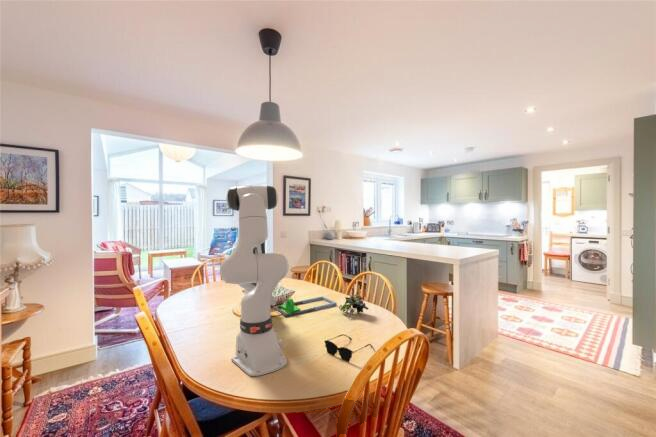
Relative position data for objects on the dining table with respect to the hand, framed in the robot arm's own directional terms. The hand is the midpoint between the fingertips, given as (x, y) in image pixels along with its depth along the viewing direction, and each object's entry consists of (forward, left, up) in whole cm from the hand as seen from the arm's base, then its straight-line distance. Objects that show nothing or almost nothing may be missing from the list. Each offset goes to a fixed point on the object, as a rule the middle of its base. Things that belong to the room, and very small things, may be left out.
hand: (274, 303), depth 150 cm
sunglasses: (-54, -10, -6) cm, 55 cm away
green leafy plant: (-25, -34, -6) cm, 43 cm away
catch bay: (0, -27, -6) cm, 28 cm away
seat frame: (0, -11, -6) cm, 13 cm away
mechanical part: (0, -9, -6) cm, 11 cm away
